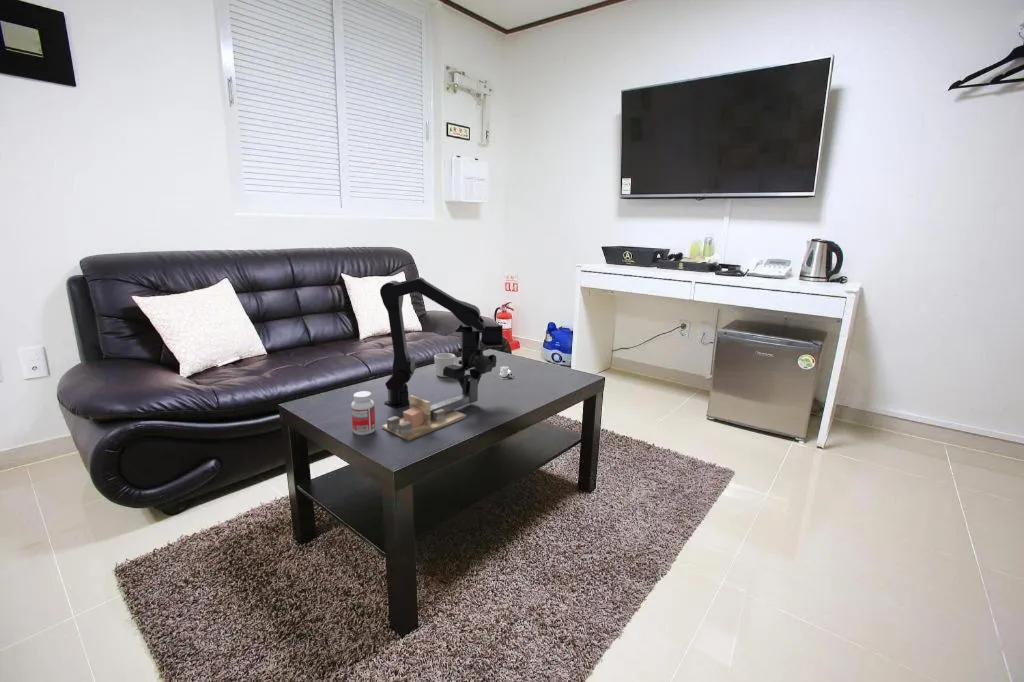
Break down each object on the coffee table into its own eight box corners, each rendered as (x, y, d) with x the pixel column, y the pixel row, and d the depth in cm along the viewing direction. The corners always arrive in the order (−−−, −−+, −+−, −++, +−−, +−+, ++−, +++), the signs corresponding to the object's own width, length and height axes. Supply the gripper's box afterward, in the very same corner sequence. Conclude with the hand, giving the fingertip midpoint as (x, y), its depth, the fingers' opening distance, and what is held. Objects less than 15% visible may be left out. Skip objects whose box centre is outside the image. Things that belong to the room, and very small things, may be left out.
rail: (381, 428, 136) (380, 401, 134) (439, 407, 152) (439, 383, 150) (408, 440, 128) (408, 413, 126) (466, 417, 145) (466, 392, 143)
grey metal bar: (416, 418, 140) (415, 393, 138) (469, 398, 157) (470, 376, 155) (424, 421, 137) (423, 396, 136) (477, 400, 154) (477, 379, 153)
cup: (449, 369, 192) (449, 350, 190) (464, 373, 187) (464, 353, 185) (430, 375, 183) (429, 355, 181) (445, 380, 179) (445, 359, 177)
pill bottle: (368, 424, 138) (366, 388, 135) (379, 431, 134) (378, 394, 131) (348, 430, 133) (346, 393, 131) (359, 437, 129) (357, 399, 127)
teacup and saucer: (505, 372, 191) (505, 362, 190) (519, 377, 186) (519, 367, 185) (489, 376, 185) (489, 366, 184) (503, 382, 180) (503, 371, 179)
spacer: (404, 424, 137) (402, 411, 135) (415, 419, 140) (413, 406, 138) (413, 428, 134) (412, 415, 133) (424, 422, 137) (422, 410, 136)
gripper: (467, 356, 138) (467, 406, 141) (509, 345, 152) (507, 391, 156) (441, 349, 145) (442, 397, 148) (483, 339, 159) (482, 383, 162)
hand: (470, 392), depth 153 cm, fingers closed on grey metal bar, 3 cm apart
